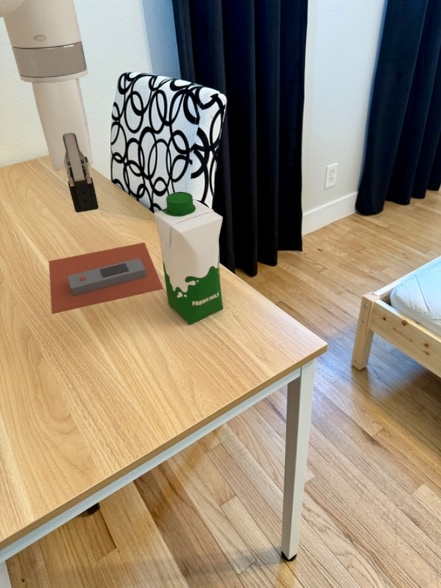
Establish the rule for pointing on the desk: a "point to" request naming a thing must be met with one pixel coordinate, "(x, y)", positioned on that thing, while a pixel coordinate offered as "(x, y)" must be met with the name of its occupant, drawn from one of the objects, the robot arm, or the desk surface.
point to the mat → (86, 262)
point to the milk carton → (190, 256)
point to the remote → (106, 276)
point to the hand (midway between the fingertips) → (86, 208)
